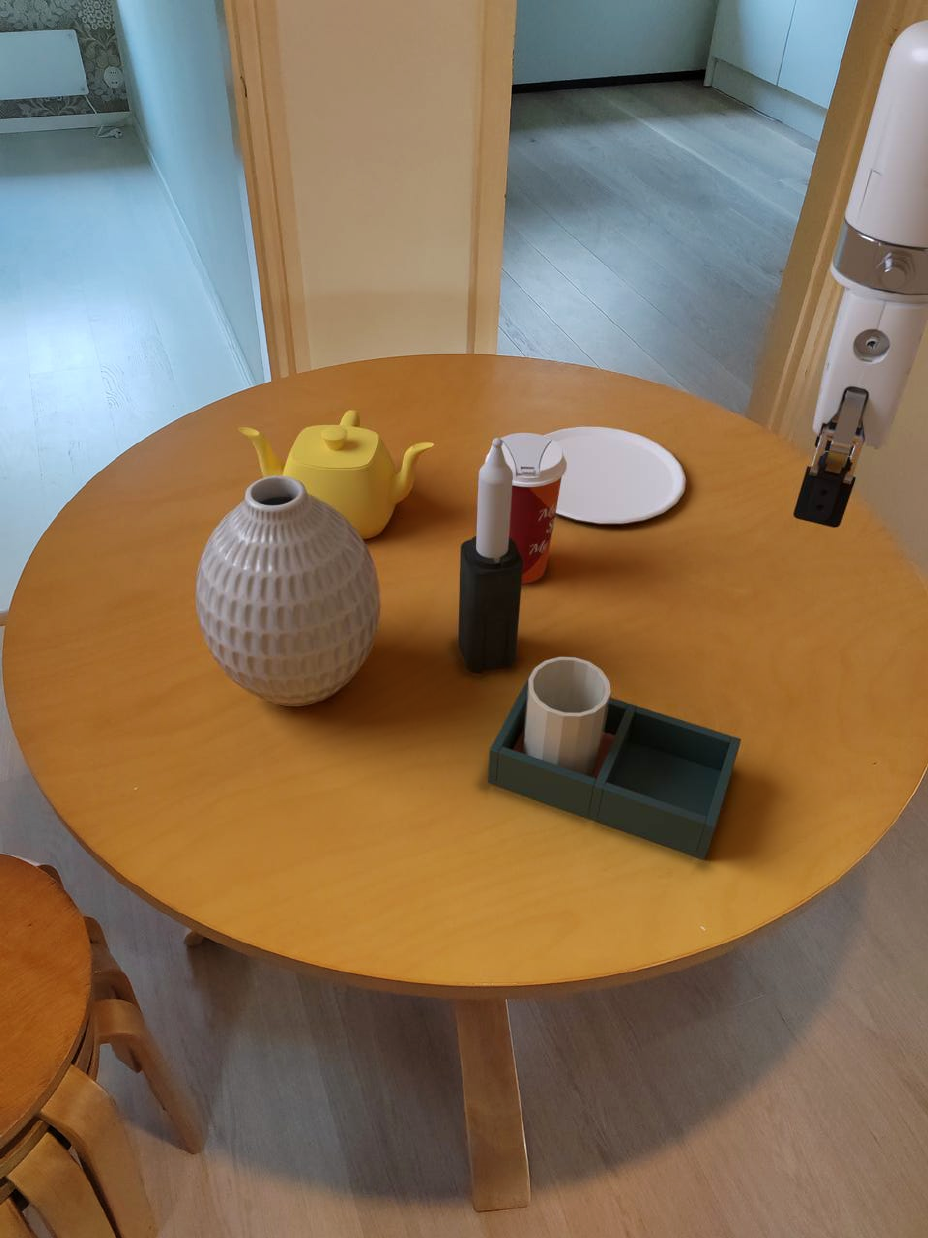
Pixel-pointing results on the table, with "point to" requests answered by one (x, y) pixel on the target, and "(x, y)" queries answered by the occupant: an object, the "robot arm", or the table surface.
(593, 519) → the plate
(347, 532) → the vase
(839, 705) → the table surface
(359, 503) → the teapot
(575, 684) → the cup
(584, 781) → the organiser
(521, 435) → the coffee cup
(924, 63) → the robot arm
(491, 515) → the candle
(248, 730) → the table surface
